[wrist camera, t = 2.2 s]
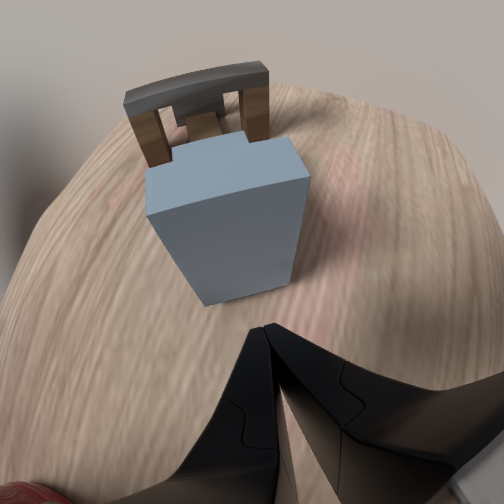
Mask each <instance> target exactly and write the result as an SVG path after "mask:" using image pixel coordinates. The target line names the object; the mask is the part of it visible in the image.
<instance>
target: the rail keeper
mask: <svg viewBox="0 0 504 504" xmlns="http://www.w3.org/2000/svg"><path fill="white" fill-rule="evenodd" d="M233 91H238V94H239V106H240V117H241V128H242V131H244V132H245V135H246V137H247V139H248V142H249V143H250V142H255V141H260V140H266V139H269V71H268V69H267V68H266V67H265V66H264V65H263V64H262V63H261V61H255V62H246V63H240V64H232V65H227V66H220V67H215V68H210V69H205V70H200V71H195V72H191V73H187V74H183V75H179V76H175V77H171V78H168V79H164V80H160V81H157V82H153V83H150V84H147V85H144V86H141V87H138V88H135V89H132V90H129V91H127V92H126V95H125V99H124V103H123V106H124V108H125V110H126V113H127V116H128V118H129V121H130V123H131V126H132V128H133V130H134V133H135V135H136V138H137V140H138V142H139V145H140V147H141V150H142V152H143V154H144V156H145V159H146V161H147V163H148V166H149V168H150V167H153V166H157V165H160V164H163V163H167V162H170V161H171V160H170V148H169V143H168V140H167V137H166V134H165V131H164V128H163V125H162V122H161V119H160V115H159V112H158V109H161V108H164V107H168V106H171V105H172V109H173V112H174V116H175V119H176V123H177V127H179V126H183V125H187V130H188V136H189V142H194V141H198V140H202V139H207V138H211V137H215V136H220V135H223V134H222V131H221V128H220V125H219V122H218V119H217V117H221V116H226V115H225V107H224V99H223V93H228V92H233Z"/></svg>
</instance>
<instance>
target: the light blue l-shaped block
mask: <svg viewBox="0 0 504 504" xmlns="http://www.w3.org/2000/svg"><path fill="white" fill-rule="evenodd" d="M172 157H173V162H170V163H167V164H163V165H160V166H156V167H153V168H150V169H147V170H145V191H146V216H147V218H148V219H149V221H150V223H151V224H152V226H153V228H154V229H155V231H156V233H157V234H158V236H159V237H160V239H161V241H162V242H163V244H164V245H165V247H166V249H167V250H168V252H169V253H170V255H171V256H172V258H173V260H174V261H175V263H176V264H177V266H178V267H179V269H180V270H181V272H182V273H183V275H184V276H185V278H186V279H187V281H188V282H189V284H190V285H191V287H192V288H193V290H194V291H195V293H196V294H197V296H198V297H199V298H200V300H201V301H202V303H203V304H204V306H205V307H206V306H210V305H214V304H218V303H222V302H226V301H230V300H234V299H238V298H242V297H245V296H249V295H253V294H257V293H261V292H264V291H268V290H272V289H275V288H279V287H283V286H286V285H289V282H290V278H291V273H292V269H293V264H294V259H295V255H296V250H297V245H298V240H299V235H300V230H301V225H302V220H303V215H304V210H305V205H306V199H307V194H308V188H309V183H310V177H311V176H310V174H309V172H308V170H307V169H306V167H305V165H304V163H303V161H302V160H301V158H300V156H299V154H298V152H297V151H296V149H295V147H294V146H293V144H292V142H291V140H290V139H289V137H283V138H277V139H271V140H265V141H260V142H254V143H249V142H248V139H247V137H246V135H245V132H244V131H239V132H234V133H229V134H224V135H220V136H215V137H211V138H207V139H202V140H198V141H194V142H190V143H187V144H183V145H179V146H176V147H172Z"/></svg>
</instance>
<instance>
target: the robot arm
mask: <svg viewBox="0 0 504 504" xmlns="http://www.w3.org/2000/svg"><path fill="white" fill-rule="evenodd" d="M279 385H280V386H279ZM280 388H281V390H282V392H283V395H284V397H285V399H286V401H287V403H288V405H289V407H290V409H291V411H292V413H293V415H294V416H295V418H296V420H297V422H298V424H299V426H300V428H301V430H302V432H303V434H304V436H305V438H306V440H307V442H308V444H309V445H310V447H311V449H312V451H313V453H314V455H315V457H316V459H317V461H318V462H319V464H320V466H321V468H322V470H323V472H324V473H325V475H326V477H327V479H328V481H329V483H330V484H331V486H332V488H333V490H334V492H335V493H336V495H337V496H338V499H339V501H340V502H341V504H504V371H503V372H501V373H498V374H496V375H493V376H490V377H488V378H485V379H482V380H479V381H476V382H473V383H470V384H467V385H463V386H460V387H456V388H453V389H449V390H443V391H434V390H427V389H423V388H420V387H416V386H413V385H410V384H406V383H403V382H400V381H397V380H394V379H390V378H387V377H384V376H382V375H379V374H376V373H374V372H371V371H368V370H366V369H364V368H362V367H359V366H357V365H355V364H353V363H351V362H349V361H346V360H345V359H343V358H341V357H339V356H337V355H335V354H333V353H331V352H329V351H327V350H325V349H323V348H321V347H320V346H318V345H316V344H314V343H312V342H310V341H308V340H306V339H304V338H302V337H301V336H299V335H297V334H295V333H293V332H291V331H290V330H288V329H286V328H284V327H282V326H280V325H279V324H277V323H272V324H268V325H265V326H264V327H257V328H253V329H250V330H249V333H248V335H247V337H246V340H245V342H244V345H243V347H242V349H241V352H240V354H239V356H238V359H237V361H236V363H235V366H234V368H233V371H232V373H231V375H230V377H229V380H228V382H227V384H226V387H225V389H224V391H223V394H222V397H221V398H220V400H219V402H218V405H217V407H216V409H215V411H214V413H213V415H212V417H211V419H210V421H209V422H208V424H207V426H206V427H205V429H204V431H203V432H202V434H201V436H200V437H199V439H198V440H197V442H196V443H195V445H194V446H193V448H192V449H191V451H190V452H189V454H188V455H187V457H186V458H185V459H184V461H183V462H182V464H181V465H180V467H179V468H178V469H177V470H176V471H175V473H174V474H173V475H171V476H170V477H169V478H168V479H167V480H165V481H163V482H162V483H159V484H157V485H155V486H152V487H150V488H148V489H145V490H143V491H140V492H138V493H135V494H132V495H130V496H127V497H124V498H121V499H118V500H115V501H112V502H109V503H106V504H299V501H298V494H297V488H296V482H295V475H294V469H293V463H292V456H291V450H290V444H289V438H288V432H287V425H286V419H285V413H284V407H283V401H282V395H281V390H280ZM42 504H60V503H57V502H45V503H42Z"/></svg>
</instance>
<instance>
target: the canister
mask: <svg viewBox="0 0 504 504" xmlns="http://www.w3.org/2000/svg"><path fill="white" fill-rule="evenodd" d="M45 502H57V503H60V504H73V503H72V502H71V501H69V500H68V499H67V498H65V497H64V496H62V495H61V494H59V493H57V492H56V491H54V490H52V489H50V488H48V487H46V486H43V485H41V484H37V483H27V482H21V481H17V482H9V483H6V484H4V485H1V486H0V504H42V503H45Z"/></svg>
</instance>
